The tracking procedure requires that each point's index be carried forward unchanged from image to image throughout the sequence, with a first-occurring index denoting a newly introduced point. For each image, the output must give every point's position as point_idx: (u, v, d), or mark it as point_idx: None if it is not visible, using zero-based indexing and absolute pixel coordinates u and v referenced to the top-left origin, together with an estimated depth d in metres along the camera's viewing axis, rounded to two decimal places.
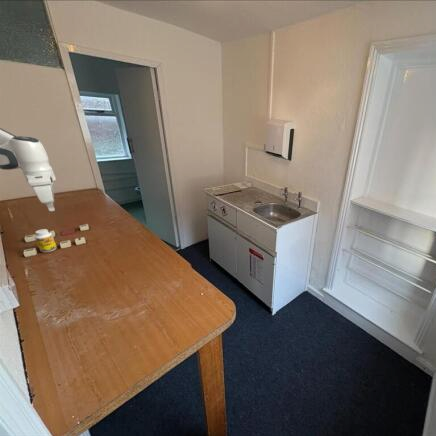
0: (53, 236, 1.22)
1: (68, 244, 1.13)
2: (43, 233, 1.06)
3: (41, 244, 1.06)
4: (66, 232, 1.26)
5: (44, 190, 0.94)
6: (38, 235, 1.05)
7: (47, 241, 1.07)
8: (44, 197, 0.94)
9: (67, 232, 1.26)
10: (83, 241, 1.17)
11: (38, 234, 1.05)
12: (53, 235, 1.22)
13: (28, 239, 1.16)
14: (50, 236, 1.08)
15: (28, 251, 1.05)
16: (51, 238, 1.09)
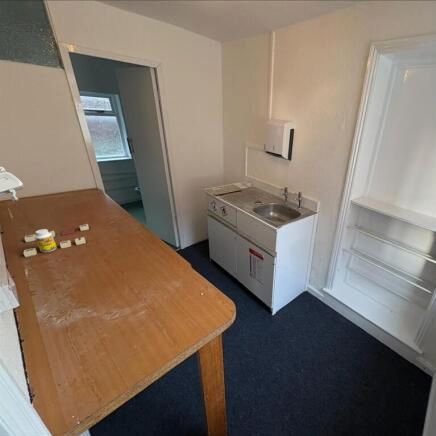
0: (53, 236, 1.22)
1: (68, 244, 1.13)
2: (43, 233, 1.06)
3: (41, 244, 1.06)
4: (66, 232, 1.26)
5: None
6: (38, 235, 1.05)
7: (47, 241, 1.07)
8: (19, 181, 0.99)
9: (67, 232, 1.26)
10: (83, 241, 1.17)
11: (38, 234, 1.05)
12: (53, 235, 1.22)
13: (28, 239, 1.16)
14: (50, 236, 1.08)
15: (28, 251, 1.05)
16: (51, 238, 1.09)
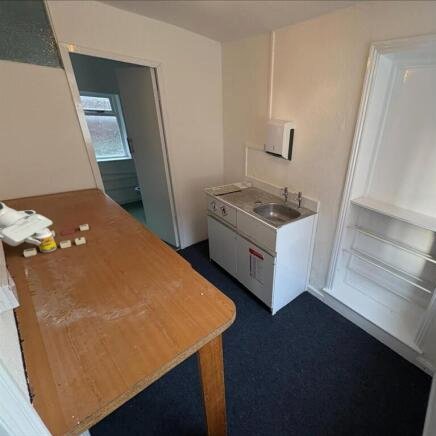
0: (53, 236, 1.22)
1: (68, 244, 1.13)
2: (43, 233, 1.06)
3: (41, 244, 1.06)
4: (66, 232, 1.26)
5: None
6: (38, 235, 1.05)
7: (47, 241, 1.07)
8: None
9: (67, 232, 1.26)
10: (83, 241, 1.17)
11: (38, 234, 1.05)
12: None
13: None
14: (50, 236, 1.08)
15: (28, 251, 1.05)
16: (51, 238, 1.09)
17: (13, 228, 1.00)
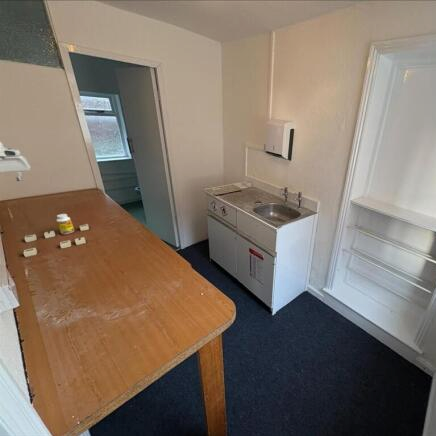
0: (53, 236, 1.22)
1: (68, 244, 1.13)
2: (65, 216, 1.23)
3: (64, 226, 1.23)
4: None
5: (25, 158, 1.12)
6: (60, 219, 1.22)
7: (68, 223, 1.24)
8: (28, 164, 1.13)
9: None
10: (83, 241, 1.17)
11: (61, 217, 1.22)
12: (53, 235, 1.22)
13: (28, 239, 1.16)
14: (70, 219, 1.25)
15: (28, 251, 1.05)
16: None
17: None
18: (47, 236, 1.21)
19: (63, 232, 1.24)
